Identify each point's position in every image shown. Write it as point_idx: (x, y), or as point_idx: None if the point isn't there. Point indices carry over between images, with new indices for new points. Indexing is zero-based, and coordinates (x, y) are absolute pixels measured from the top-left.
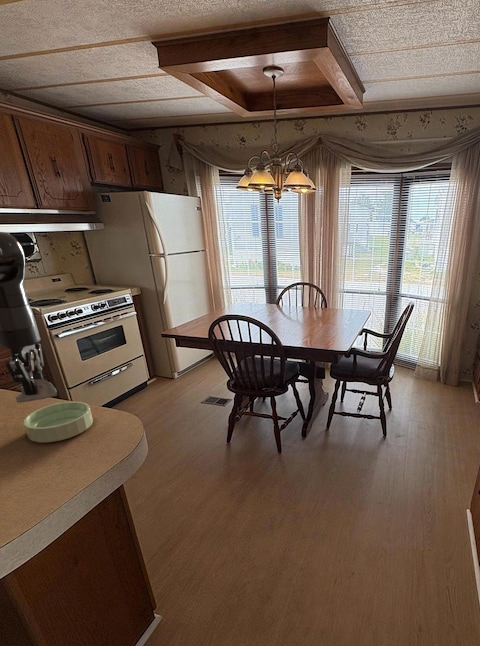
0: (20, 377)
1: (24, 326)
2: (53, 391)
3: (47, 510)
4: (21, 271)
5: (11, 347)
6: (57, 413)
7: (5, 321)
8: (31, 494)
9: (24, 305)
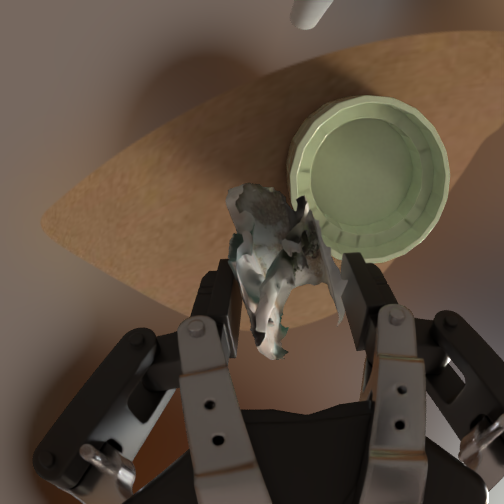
0: (142, 377)
1: None
2: (277, 326)
3: (73, 247)
4: None
5: None
6: (419, 159)
7: None
8: (101, 207)
9: None
